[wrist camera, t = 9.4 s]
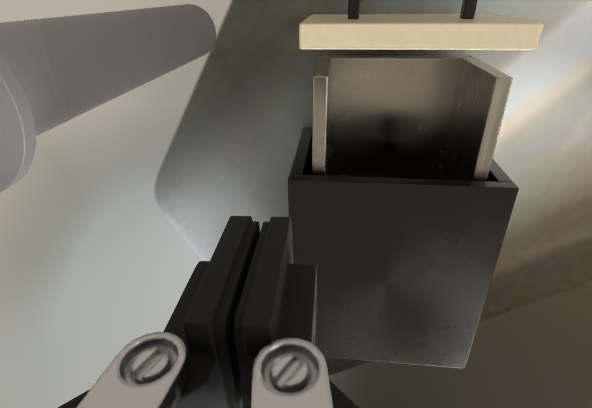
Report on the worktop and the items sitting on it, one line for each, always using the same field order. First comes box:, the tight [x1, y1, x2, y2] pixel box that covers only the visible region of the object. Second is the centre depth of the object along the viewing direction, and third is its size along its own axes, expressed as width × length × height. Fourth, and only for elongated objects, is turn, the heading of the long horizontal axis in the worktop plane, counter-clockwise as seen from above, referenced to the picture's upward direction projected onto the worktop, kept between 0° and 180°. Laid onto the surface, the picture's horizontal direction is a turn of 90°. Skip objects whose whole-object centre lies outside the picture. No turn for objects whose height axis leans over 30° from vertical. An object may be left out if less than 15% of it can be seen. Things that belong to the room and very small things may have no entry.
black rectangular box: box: [288, 128, 519, 368], centre depth 29 cm, size 15×13×10 cm
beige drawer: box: [299, 0, 544, 181], centre depth 24 cm, size 18×11×8 cm, turn 1°
